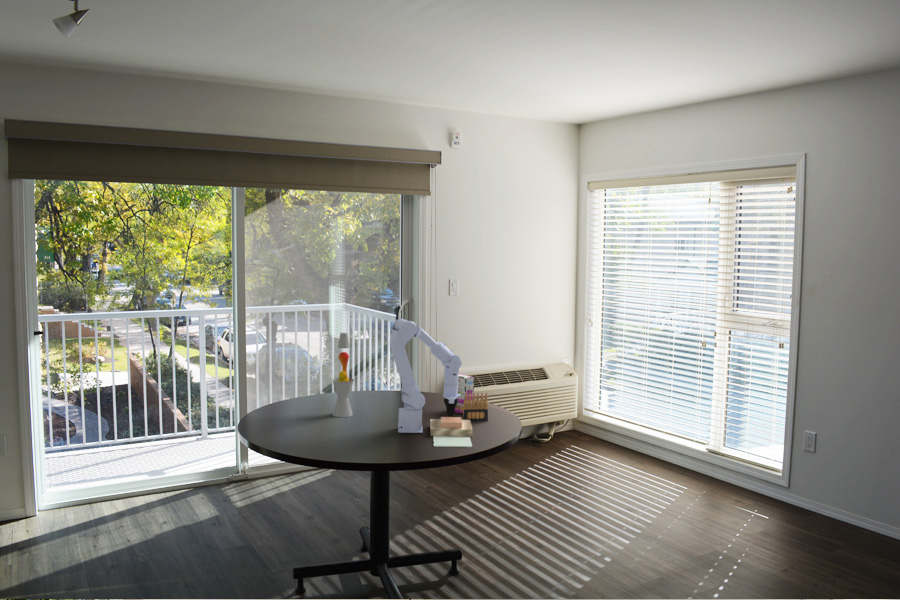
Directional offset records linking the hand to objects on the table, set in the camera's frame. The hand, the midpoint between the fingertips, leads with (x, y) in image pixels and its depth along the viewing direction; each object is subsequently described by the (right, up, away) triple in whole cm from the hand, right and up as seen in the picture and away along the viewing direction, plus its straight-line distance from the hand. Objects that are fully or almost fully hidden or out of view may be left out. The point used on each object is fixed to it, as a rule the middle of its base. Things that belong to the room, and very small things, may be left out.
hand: (450, 416), depth 259 cm
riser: (0, -4, -8) cm, 9 cm away
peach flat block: (0, -2, -9) cm, 10 cm away
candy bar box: (+5, -2, +23) cm, 24 cm away
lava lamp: (-46, -2, +13) cm, 48 cm away
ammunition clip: (+10, -4, +10) cm, 15 cm away
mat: (+1, -6, -21) cm, 22 cm away
